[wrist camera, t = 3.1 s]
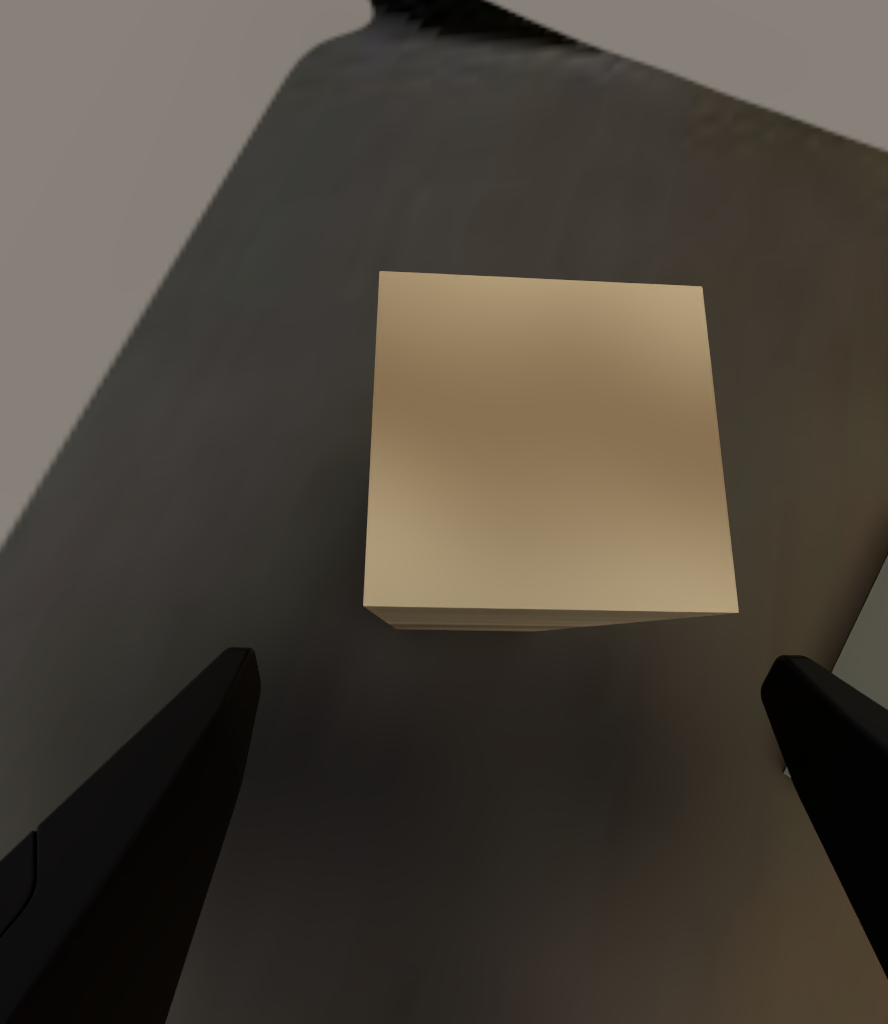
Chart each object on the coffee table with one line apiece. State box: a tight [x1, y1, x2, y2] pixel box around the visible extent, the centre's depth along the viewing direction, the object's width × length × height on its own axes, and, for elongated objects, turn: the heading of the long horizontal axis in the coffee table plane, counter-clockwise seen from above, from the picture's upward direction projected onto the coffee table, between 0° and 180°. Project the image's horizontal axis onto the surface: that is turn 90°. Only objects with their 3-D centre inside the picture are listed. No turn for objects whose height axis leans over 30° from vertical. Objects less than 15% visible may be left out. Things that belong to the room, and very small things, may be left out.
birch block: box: [363, 271, 739, 632], centre depth 14 cm, size 5×5×13 cm
